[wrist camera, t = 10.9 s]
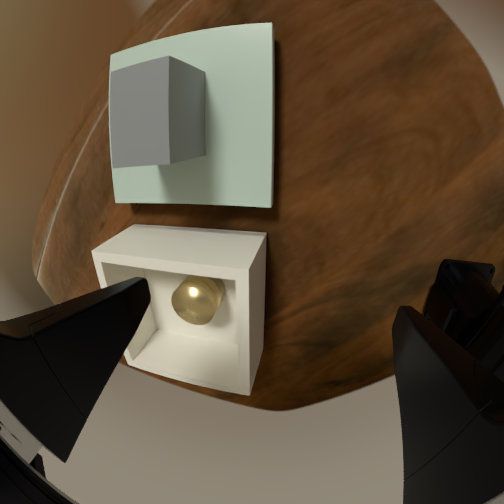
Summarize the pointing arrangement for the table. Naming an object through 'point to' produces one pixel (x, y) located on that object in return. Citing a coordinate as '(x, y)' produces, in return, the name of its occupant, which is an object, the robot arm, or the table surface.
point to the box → (175, 328)
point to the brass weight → (198, 298)
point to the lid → (195, 118)
